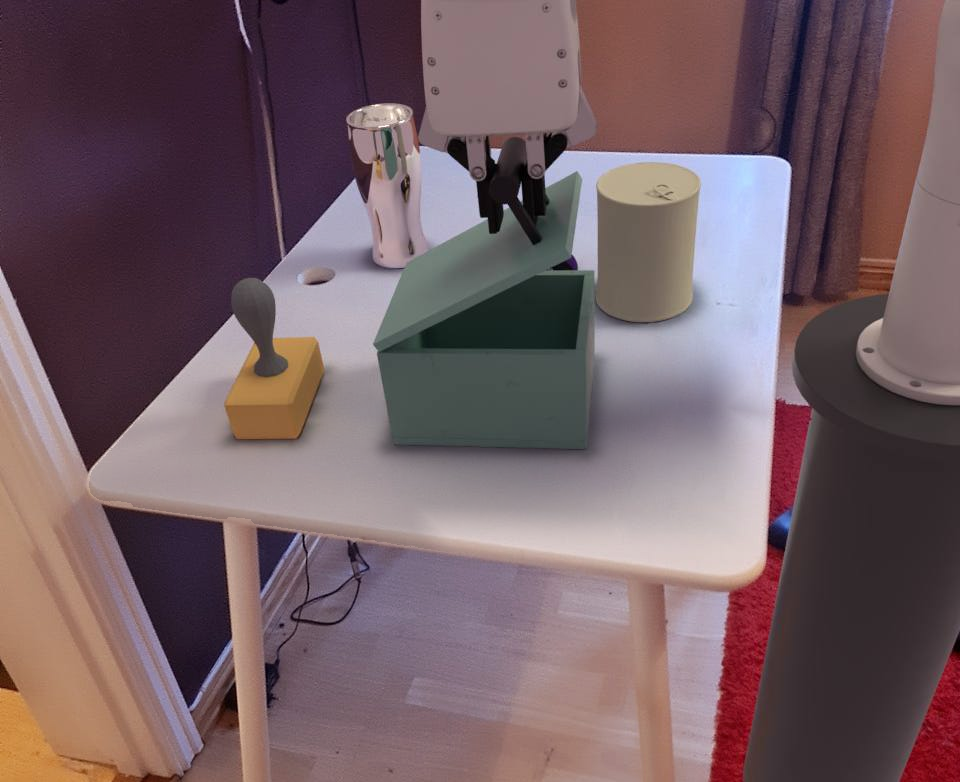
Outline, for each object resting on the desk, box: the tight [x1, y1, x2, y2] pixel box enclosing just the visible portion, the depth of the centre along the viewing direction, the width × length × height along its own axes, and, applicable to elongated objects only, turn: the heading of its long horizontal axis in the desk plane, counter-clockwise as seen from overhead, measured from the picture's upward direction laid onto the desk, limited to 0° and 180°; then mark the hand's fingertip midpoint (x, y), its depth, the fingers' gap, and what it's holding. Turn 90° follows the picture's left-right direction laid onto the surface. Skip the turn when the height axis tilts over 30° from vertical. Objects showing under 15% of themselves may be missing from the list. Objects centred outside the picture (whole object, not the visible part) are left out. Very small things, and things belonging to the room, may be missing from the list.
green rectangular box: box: [376, 269, 596, 450], centre depth 75 cm, size 16×13×9 cm
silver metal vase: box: [345, 102, 429, 269], centre depth 95 cm, size 7×7×15 cm
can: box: [595, 161, 702, 323], centre depth 85 cm, size 9×9×12 cm
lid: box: [372, 136, 583, 352], centre depth 68 cm, size 16×13×6 cm
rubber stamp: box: [223, 277, 325, 440], centre depth 76 cm, size 10×6×12 cm, turn 175°
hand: (514, 223), depth 67 cm, fingers closed on lid, 2 cm apart
